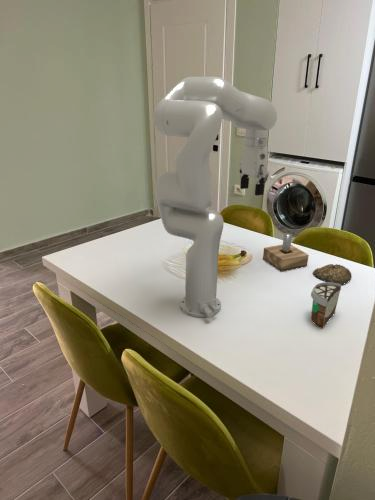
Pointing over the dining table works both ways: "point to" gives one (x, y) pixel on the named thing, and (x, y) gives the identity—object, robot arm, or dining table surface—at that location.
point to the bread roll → (333, 273)
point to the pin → (286, 243)
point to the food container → (324, 302)
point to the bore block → (285, 258)
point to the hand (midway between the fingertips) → (251, 191)
